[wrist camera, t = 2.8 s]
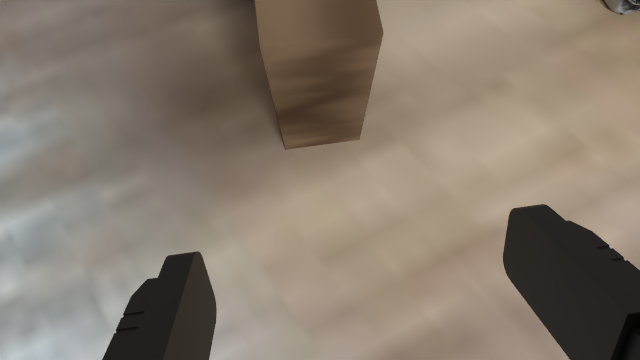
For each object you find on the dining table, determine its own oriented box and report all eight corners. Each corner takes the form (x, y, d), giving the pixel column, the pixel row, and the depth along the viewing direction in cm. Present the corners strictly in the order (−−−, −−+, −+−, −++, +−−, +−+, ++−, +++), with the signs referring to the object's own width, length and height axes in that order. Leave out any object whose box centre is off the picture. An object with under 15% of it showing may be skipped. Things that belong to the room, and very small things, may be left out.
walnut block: (285, 149, 26) (259, 48, 16) (277, 84, 28) (248, -49, 17) (359, 139, 26) (383, 32, 16) (347, 75, 28) (362, -63, 17)
